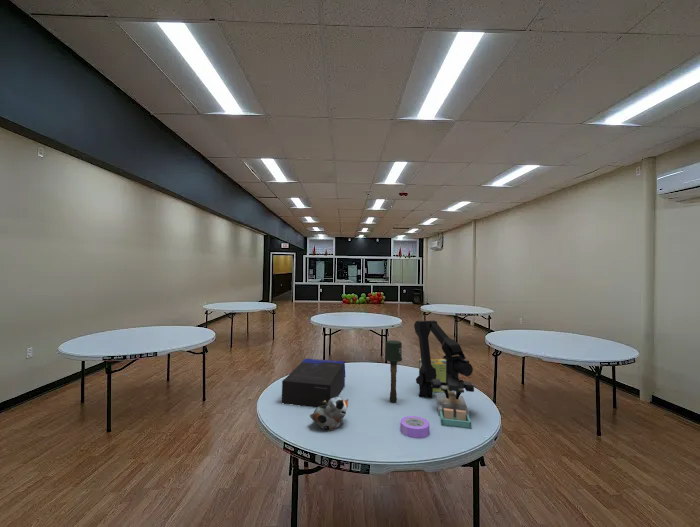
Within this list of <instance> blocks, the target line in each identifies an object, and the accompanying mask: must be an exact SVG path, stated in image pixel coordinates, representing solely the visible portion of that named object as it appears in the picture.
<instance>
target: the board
mask: <svg viewBox="0 0 700 527" xmlns="http://www.w3.org/2000/svg"><path fill="white" fill-rule="evenodd" d="M435 393H436V405H437V412H438V417H440V411H442V415H443V416H444V410H442V402H443V403H445V398H446V395H445V393H438V392H435ZM458 400H461V404H463V405H466V413H468V415H469V416H470V412H469V408H468V406H467V404H466V401H465V398H464V396H463V395H460V396H459V398H458ZM453 417H456V412H455V411H453Z"/></svg>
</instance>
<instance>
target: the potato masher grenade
mask: <svg viewBox="0 0 700 527" xmlns="http://www.w3.org/2000/svg"><path fill="white" fill-rule="evenodd" d="M402 344H403V342H402V341H400V340H395V339H393V340H392V339H391V340H386V342H385V361H388V362H389V363H390V364H389V365H390V391H389V402H390V403H392V404H395V403H397V400H398V397H397V394H398V393H397V372H398V362H399V363H400V362H402V361H403V358H402V352H403V351H402V350H403V349H402V347H403V345H402Z"/></svg>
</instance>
